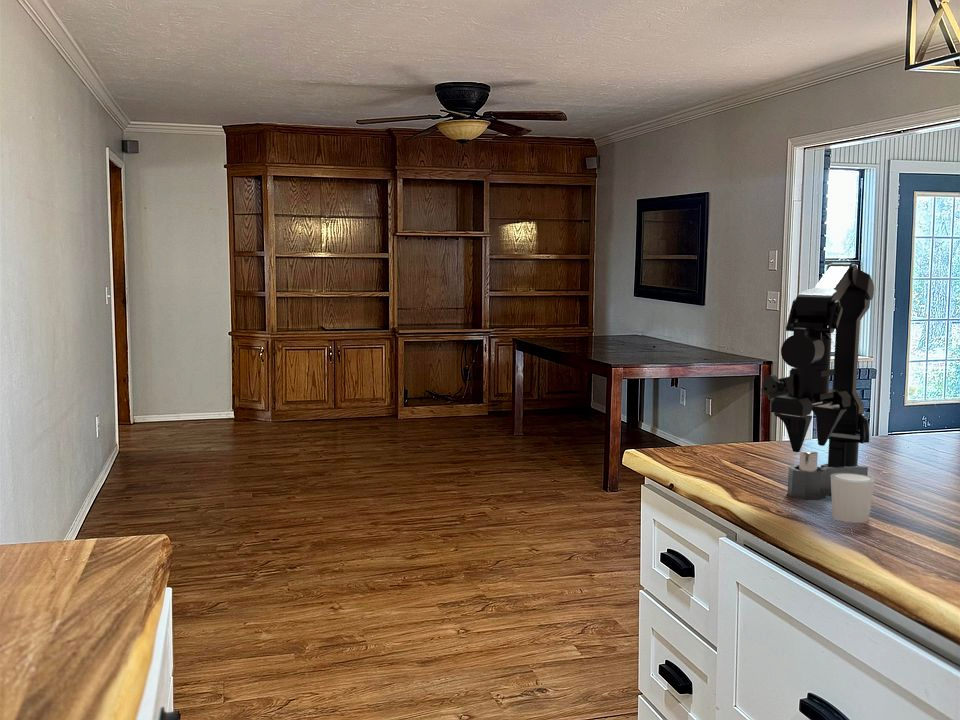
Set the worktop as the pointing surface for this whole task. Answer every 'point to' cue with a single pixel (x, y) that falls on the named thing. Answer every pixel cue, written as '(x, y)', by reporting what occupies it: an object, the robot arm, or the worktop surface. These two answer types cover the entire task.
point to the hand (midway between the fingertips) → (808, 448)
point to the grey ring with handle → (816, 481)
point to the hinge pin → (808, 461)
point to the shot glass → (851, 497)
